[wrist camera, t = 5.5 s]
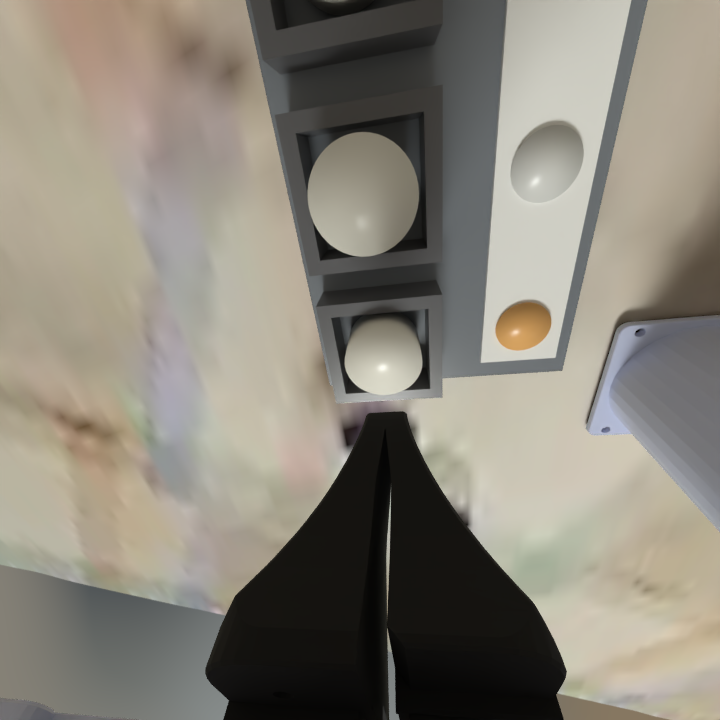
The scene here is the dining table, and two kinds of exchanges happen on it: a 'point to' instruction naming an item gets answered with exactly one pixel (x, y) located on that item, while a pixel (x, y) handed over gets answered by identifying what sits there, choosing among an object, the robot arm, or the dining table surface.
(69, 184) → the dining table surface
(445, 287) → the button board
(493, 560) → the robot arm
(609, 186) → the dining table surface
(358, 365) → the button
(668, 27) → the dining table surface
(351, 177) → the button middle
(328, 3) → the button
